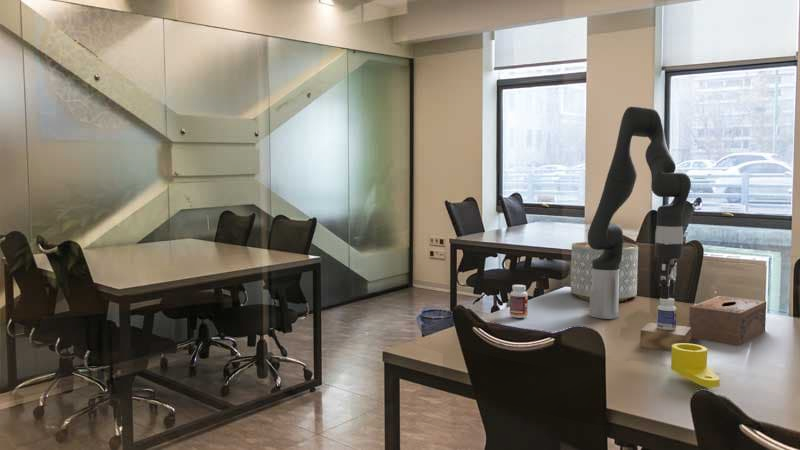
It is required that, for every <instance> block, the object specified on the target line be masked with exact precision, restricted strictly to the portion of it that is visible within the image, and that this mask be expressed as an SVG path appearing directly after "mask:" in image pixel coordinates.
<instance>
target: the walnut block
mask: <svg viewBox="0 0 800 450" xmlns="http://www.w3.org/2000/svg"><path fill="white" fill-rule="evenodd" d="M639 339H640V340H639V341H640V343H639V347H640V348H645V349H652V350H660V351H666V352H667V351H668V352H672V345H673V344H677V343H689V344H692V338H691V327H689V326H684V325H676V329H675V330H662V329H658V328H657V322H648V323H647V324H645V326H643V327H642V328H641V329H640V337H639Z"/></svg>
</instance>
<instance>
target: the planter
mask: <svg viewBox="0 0 800 450" xmlns="http://www.w3.org/2000/svg"><path fill="white" fill-rule="evenodd" d="M603 252H604V250H595V249H592V248H591V247H590V246H589V244H588V241H582V242H573V243H571V259H570V260H571V262H570V263H571V264H570V266H571V267H570V269H571V270H570V293H572V294H573V295H576V296H577V297H578V298H580V299H581V300H585V301H590V290H591V289H592V262H593V260H594V259H596V258H598V257H600V256H601V255H602V254H603ZM638 259H639V246H638V245H637V244H632V243H628V242H627V243H626V242H623V248H622V260H621V263H620V266H619V302H624V300H625V301H628V300H629V299H630V298H634V297H636V296H637V295H638V292H637V291H638V268H639V267H638V263H639V262H638V261H639V260H638ZM628 298H629V299H628ZM627 299H628V300H627Z"/></svg>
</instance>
